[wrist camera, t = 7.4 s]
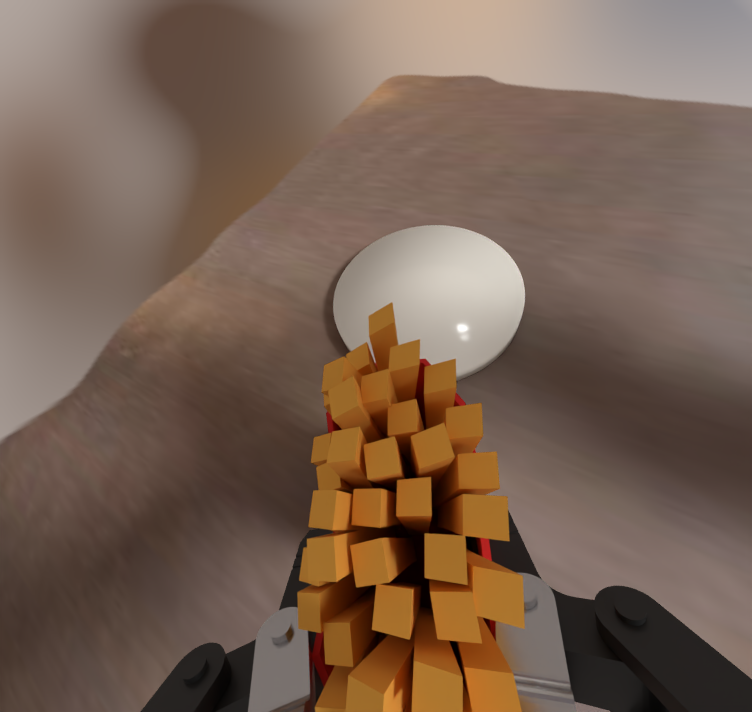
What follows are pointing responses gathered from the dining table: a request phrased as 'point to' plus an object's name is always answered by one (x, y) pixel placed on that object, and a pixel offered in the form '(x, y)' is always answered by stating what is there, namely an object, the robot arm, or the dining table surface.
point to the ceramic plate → (435, 295)
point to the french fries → (405, 540)
